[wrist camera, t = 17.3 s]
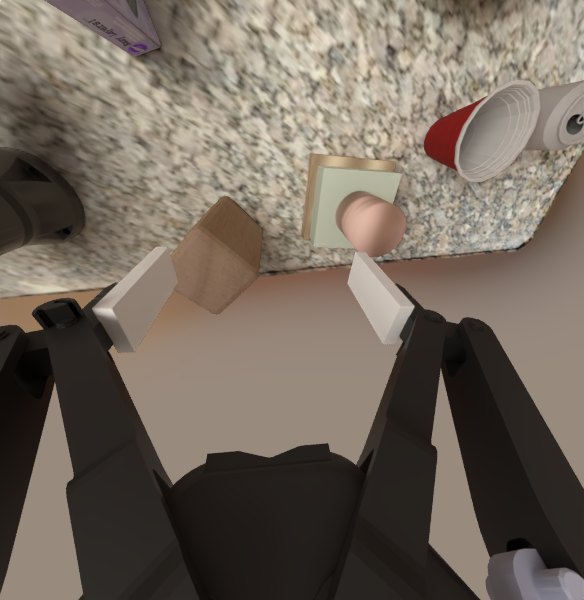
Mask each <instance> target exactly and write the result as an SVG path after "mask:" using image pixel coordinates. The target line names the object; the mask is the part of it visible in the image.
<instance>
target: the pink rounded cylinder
mask: <svg viewBox="0 0 584 600" xmlns="http://www.w3.org/2000/svg"><path fill="white" fill-rule="evenodd" d="M335 220H336V224H337V227H338V228H339V230H340V231H341V232H342V233H343V234H344V236H345V237H346V238H347V239H348V240H349V242H350V243H351V244H352V245H353V246H354V248H355V249H356V250H357V251H358V252H366V253H367V254H368V256H369V257H379V256H382V255H384V254H386V253H388V252H390V251H391V250H392V249H394V248H395V247H396V246H397V245H398V243H399V242H400V241H401V239H402V237H403V235H404V233H405V229H406V217H405V215H404V212H403V211H402V210H401V209H400V208H399V207H398V206H396V205H394V204H392V203H390V202H387V201H385V200H383V199H381V198H379V197H377V196H375V195H373V194H370V193H368V192H366V191H355V192H352V193H350V194H349V195H347V196H346V197H345V198H344V199H343V200H342V201H341V202H340V204H339V205H338V208H337V210H336V216H335Z"/></svg>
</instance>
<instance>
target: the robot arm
mask: <svg viewBox="0 0 584 600" xmlns="http://www.w3.org/2000/svg"><path fill="white" fill-rule="evenodd" d="M83 225H84V211H83V207H82V205H81V202H80V200H79V198H78V196H77V195H76V193H75V191H74V190H73V189H72V187H71V186H70V185H69V184H68V182H67V181H66V180H65V179H64V178H63V177H62V176H61V175H60V174H59V173H57V172H56V171H55V170H54V169H53V168H51V167H50V166H49V165H47V164H46V163H44V162H43V161H41V160H40V159H38V158H36V157H34V156H32V155H30V154H28V153H25V152H23V151H20V150H16V149H12V148H6V147H0V255H3V254H5V253H8V252H10V251H12V250H15V249H17V248H20V247H22V246H25V245H40V244H55V243H60V242H64V241H66V240H68V239H70V238H73V237H75V236H76V235H78V234H79V233H80V231H81V230H82V228H83ZM177 283H178V280H177V277H176V273H175V270H174V266H173V263H172V259H171V255H170V252H169V248H168V247H155V248H154V249H153V250H152V251H151V252H150V253H149V254H148V255H147V256H146V257H145V258H144V259H143V260H142V261H141V262H140V263H139V264H138V265H137V266H136V267H134V268H133V269H132V270H131V271H130V272H129V273H128V274H127V275H126V276H125V277H124V278H123V279H122V280H121V281H120V282H119V283H114V284H112V285H110V286H108V287H106V288H105V289H104V290H103V291H102V292H100V293H99V295H97V296H96V297H95V298H94V299H93V300H92V301H91V302H90V303H88V304H87V305H86V306H85V307H84V308H83V309H81V307H80V306H79V304H78V303H77V301H76V300H75V299H71V298H61V299H56V300H52V301H49V302H47V303H44V304H42V305H40V306H38V307H37V308H36V309H35V310H33V312H32V315H33V317H34V318H35V319H36V320H37V322H39V324H40V325H41V326H42V327H43V329H44V330H39V331H33V332H28V333H25V332H24V331H23V330H22V329H21V328H20V327H19V326H17V325H7V326H1V327H0V592H1V589H2V586H3V583H4V579H5V576H6V573H7V569H8V565H9V561H10V557H11V553H12V549H13V545H14V541H15V537H16V533H17V529H18V525H19V522H20V518H21V514H22V509H23V505H24V502H25V498H26V494H27V490H28V486H29V482H30V478H31V474H32V470H33V466H34V462H35V458H36V454H37V450H38V446H39V442H40V439H41V435H42V430H43V427H44V422H45V419H46V415H47V411H48V407H49V403H50V399H51V395H52V391H53V387H54V383H55V384H56V388H57V393H58V398H59V403H60V408H61V413H62V418H63V423H64V428H65V432H66V437H67V442H68V447H69V452H70V457H71V462H72V467H73V472H74V477H73V479H72V480H71V481H69V482H68V484H67V487H66V494H67V502H68V508H69V514H70V520H71V525H72V531H73V537H74V543H75V548H76V554H77V560H78V566H79V572H80V578H81V583H82V589H83V595H82V596H81V597H80V599H79V600H480V599H479V598H478V597H477V596H476V595H475V594H474V592H473V591H472V590H471V589H470V588H469V587H468V586H467V585H466V584H465V582H464V581H463V580H462V579H461V578H460V577H459V576H458V575H457V574H456V573H455V572H454V570H453V569H452V568H451V567H450V566H449V565H448V564H447V563H446V562H445V561H444V559H443V558H442V557H441V556H440V555H439V554H438V553H437V552H436V551H435V550H434V548H432V546H431V545H430V544H429V543H428V541H429V532H430V522H431V513H432V503H433V493H434V483H435V474H436V464H437V450H436V447H435V446H433V445H432V444H431V437H432V430H433V422H434V415H435V407H436V399H437V392H438V384H439V377H440V369H441V370H442V374H443V378H444V383H445V387H446V391H447V396H448V400H449V404H450V409H451V413H452V417H453V421H454V426H455V430H456V434H457V438H458V442H459V447H460V451H461V455H462V460H463V464H464V468H465V472H466V477H467V481H468V485H469V490H470V494H471V498H472V502H473V507H474V511H475V514H476V517H477V521H478V525H479V528H480V532H481V534H482V537H483V540H484V542H485V545H486V548H487V551H488V553H489V556H490V560H489V563H488V577H487V579H486V589H487V592H488V594H489V597H490V599H491V600H584V489H583V487H582V486H581V484H580V482H579V480H578V478H577V477H576V475H575V473H574V472H573V470H572V468H571V466H570V465H569V463H568V461H567V459H566V457H565V456H564V454H563V452H562V450H561V449H560V447H559V445H558V443H557V442H556V440H555V438H554V437H553V435H552V434H551V431H550V430H549V428H548V426H547V424H546V423H545V421H544V419H543V417H542V416H541V414H540V412H539V410H538V409H537V407H536V405H535V403H534V402H533V400H532V398H531V396H530V395H529V393H528V391H527V390H526V388H525V386H524V384H523V383H522V381H521V379H520V378H519V376H518V374H517V372H516V370H515V369H514V367H513V365H512V363H511V362H510V360H509V358H508V356H507V355H506V353H505V351H504V350H503V348H502V346H501V344H500V342H499V341H498V339H497V337H496V336H495V334H494V332H493V330H492V329H491V328H490V327H489V326H488V325H487V324H485V323H484V322H483V321H480V320H478V319H474V318H468V317H466V318H463V319H462V320H461V322H460V323H459V324H456V323H451V322H446V320H445V318H444V317H443V316H442V315H440V314H439V313H437V312H434V311H431V310H425V309H424V308H423V307H422V306H421V305H420V304H419V303H418V302H417V301H416V300H415V299H414V298H412V296H411V295H410V294H409V293H408V292H407V291H406V290H405V288H403V287H401V286H400V285H398V284H394V283H393V282H392V281H391V280H390V279H389V278H388V276H387V275H386V274H385V273H384V272H383V271H382V270H381V269H380V268H379V267H378V265H377V264H376V263H375V262H374V261H373V260H372V259H371V258H370V257H369V256H368V254H367V253H366V252H355V256H354V260H353V264H352V267H351V272H350V275H349V279H348V285H349V287H350V289H351V290H352V292H353V294H354V295H355V297H356V299H357V301H358V302H359V304H360V306H361V308H362V309H363V311H364V313H365V314H366V316H367V318H368V320H369V321H370V323H371V325H372V326H373V328H374V330H375V332H376V333H377V335H378V337H379V338H380V340H381V342H382V344H383V345H384V344H396V342H397V340H398V338H399V336H400V338H401V339H402V341H403V343H402V345H401V347H400V348H399V350H398V352H397V354H396V355H397V358H396V361H395V363H394V367H393V369H392V372H391V374H390V377H389V380H388V383H387V386H386V388H385V391H384V394H383V397H382V399H381V402H380V405H379V408H378V411H377V413H376V416H375V419H374V422H373V425H372V427H371V430H370V433H369V435H368V438H367V441H366V444H365V446H364V449H363V452H362V454H361V456H360V458H359V460H358V462H357V465H355V464H354V463H353V462H351V461H350V460H348V459H346V458H345V457H343V456H341V455H338V454H335V453H332V452H330V450H329V445H328V443H327V444H316V445H304V446H299V447H296V448H294V449H291V450H289V451H286V452H284V453H281V454H279V455H276V456H274V457H270V458H268V457H263V456H258V455H254V454H249V453H244V452H240V451H235V452H224V453H212V454H207V459H206V463H205V464H203V465H200V466H199V467H197V468H195V469H193V470H192V471H190V472H189V473H187V474H186V475H184V476H183V477H182V478H181V479H180V480H178V481H177V482H176V483H175V484H174V485H173V484H172V482H171V480H170V478H169V477H168V475H167V474H166V472H165V470H164V468H163V466H162V464H161V462H160V459H159V457H158V456H157V453H156V451H155V449H154V447H153V444H152V442H151V440H150V438H149V436H148V434H147V431H146V429H145V427H144V425H143V423H142V421H141V418H140V416H139V414H138V412H137V410H136V408H135V406H134V403H133V401H132V399H131V397H130V395H129V393H128V391H127V388H126V386H125V384H124V382H123V380H122V378H121V376H120V373H119V371H118V369H117V367H116V365H115V363H114V360H113V358H112V356H111V354H110V353H109V351H108V350H109V349H110V348H111V346H112V345H114V347H115V348H116V350H117V352H118V353H121V352H135V351H136V350H137V348H138V346H139V345H140V343H141V341H142V340H143V338H144V337H145V335H146V333H147V332H148V330H149V328H150V326H151V325H152V324H153V322H154V320H155V319H156V317H157V316H158V314H159V312H160V311H161V309H162V307H163V306H164V304H165V303H166V301H167V299H168V298H169V296H170V294H171V293H172V291H173V290H174V288H175V286H176V285H177Z"/></svg>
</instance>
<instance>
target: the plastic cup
mask: <svg viewBox="0 0 584 600" xmlns="http://www.w3.org/2000/svg"><path fill="white" fill-rule="evenodd" d="M540 108H541V107H540V98H539V91H538V90H537V88H536V87H535V86H534V85H533V84H532V83H531V82H530V81H521V80H514V81H512V82H510V83H508V84H506V85H503V86H501V87H499V88H497V89H495V90H494V91H492V92H491V93H490V94H489V95H488V96H486V97H484V98H482V99H481V100H479V101H477V102H475V103H473V104H471V105H468V106H466V107H464V108H462V109H459V110H457V111H455V112H453V113H451V114H449V115H448V116H445V117H443V118H441V119H439V120H438V121H437V122H436V123H435V124H434V125H432V126H431V128H430V129H429V131H428V133H427V134H426V138H425V141H424V149H425V151H426V154H427V155H428V156H429V157H431V158H433V159H435V160H437V161H438V162H440V163H442V164H444V165H446V166H448V167H450V168H453V169H455V170H456V171H458V174H459V175H460V176H462V177H463V178H465V179H466V180H468V181H469V182H482V181H485V180H487V179H489V178H491V177H494V176H496V175H498V174H499V173H500V172H501V171H503V170H504V169H505V168H506V167H507V166H509V165H510V164H511V163H512V162H513V161H514V160H515V158H516V157H517V156H518V155H519V154H520V152H521V151H522V150H523V149H524V147H525V146H526V144H527V142H528V140H529V138H530V137H531V135H532V133H533V131H534V129H535V127H536V123H537V119H538V115H539V111H540Z"/></svg>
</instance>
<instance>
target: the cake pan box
mask: <svg viewBox="0 0 584 600" xmlns="http://www.w3.org/2000/svg"><path fill="white" fill-rule="evenodd" d="M45 1H47V2H48V3H50V4H51V5H53V6H55V7H56V8H58V9H59V10H61V11H63V12H64V13H66V14H67V15H69V16H70V17H72V18H74V19H75V20H77V21H78V22H80V23H82V24H83V25H85V26H86V27H88V28H89V29H91V30H93V31H94V32H96V33H97V34H99V35H101V36H102V37H104V38H105V39H107V40H108V41H110V42H112V43H113V44H115V45H117V46H118V47H120V48H121V49H123V50H124V51H126V52H127V53H129V54H131V55H132V56H134V57H136V56H139V55H141V54H144V53H147V52H149V51H152V50H155V49H157V48H159V47H161V43H160V40H159V38H158V35H157V33H156V31H155V28H154V26H153V23H152V21H151V18H150V16H149V13H148V11H147V8H146V6H145V3H144V1H143V0H45Z"/></svg>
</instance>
